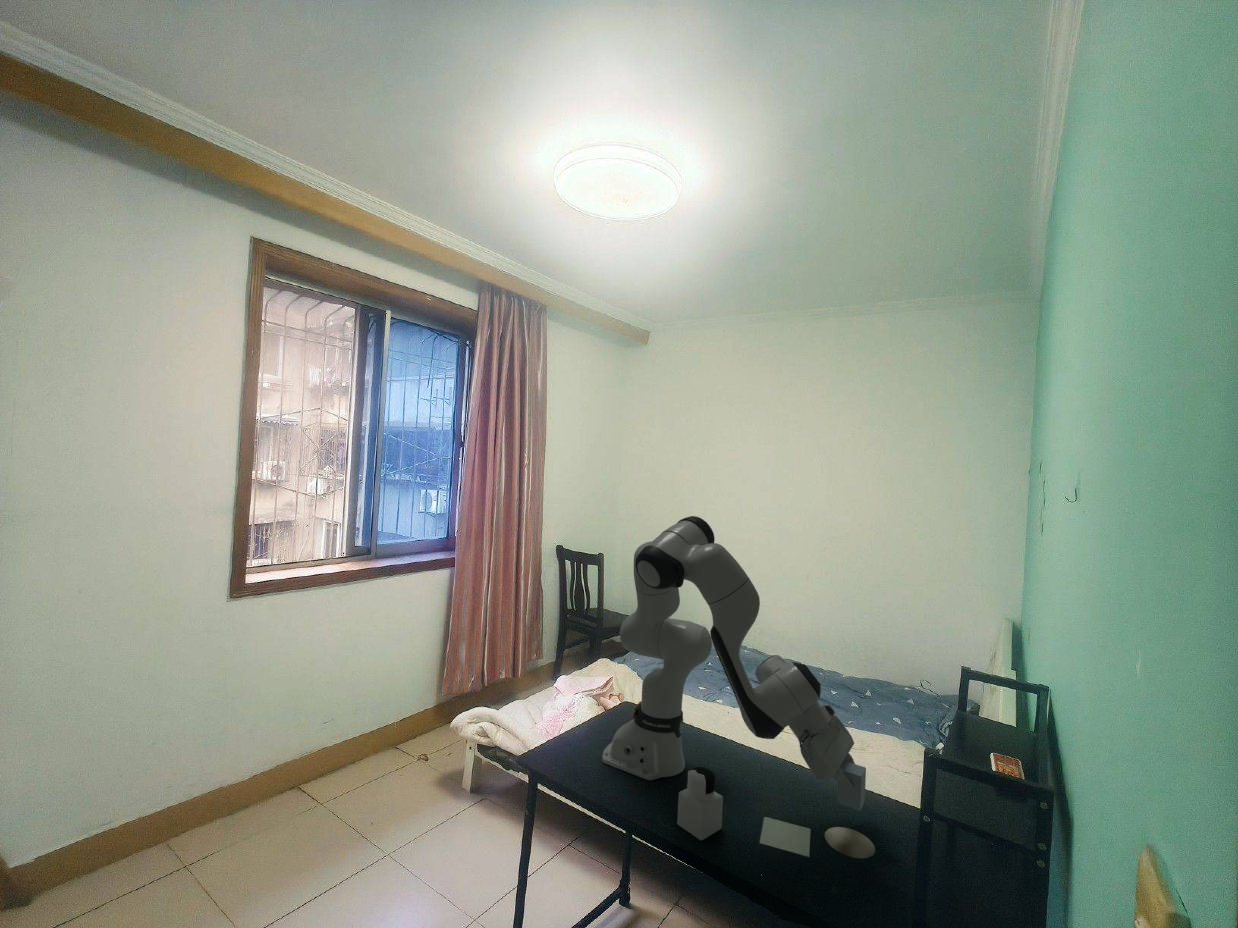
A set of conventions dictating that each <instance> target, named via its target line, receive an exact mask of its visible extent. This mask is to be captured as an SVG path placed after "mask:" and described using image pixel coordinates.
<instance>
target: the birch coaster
mask: <svg viewBox="0 0 1238 928" xmlns="http://www.w3.org/2000/svg"><path fill="white" fill-rule="evenodd" d="M824 838H825V841H826V842H827V844H828V845H829V846H830V847H831V848H832V849H834V850H836V851H837V852H839V853H840V854H843V855H845V856H847V857H850V858H855V859H868V858H870V857H873V856H874V855H875V853H876V848H875V844H874V843H873V842H872V840H871V839H869V838H868V837H867V836H866V835H864V834H862V833H861V832H858V831H857V830H854V829H851V828H849V827H848V828H847V827H842V826H836V827H835V826H834V827H830V828H828V829H827V830H826V831H825V832H824Z"/></svg>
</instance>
